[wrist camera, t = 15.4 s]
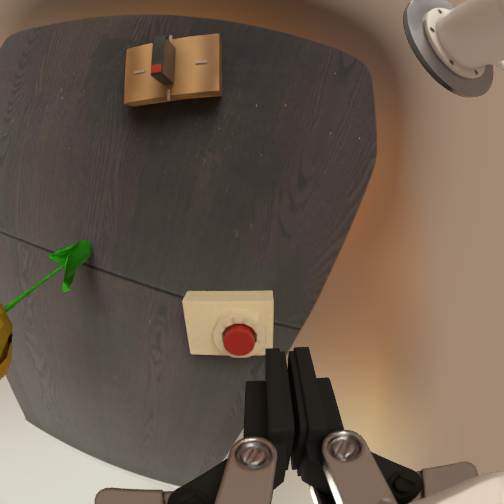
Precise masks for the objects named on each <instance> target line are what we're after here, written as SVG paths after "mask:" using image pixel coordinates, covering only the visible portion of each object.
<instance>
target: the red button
mask: <svg viewBox="0 0 504 504" xmlns="http://www.w3.org/2000/svg"><path fill="white" fill-rule="evenodd" d="M223 345H224V348H225V349H226V350H227V351H228V352H229V353H230V354H233V355H236V356H243V355H246V354H249V353H250V352H251V351H252V350H253V349H254V346H255V335H254V332H253V330H252V329H251V328H250V327H248V326H246V325H243V324H235V325H232V326H230V327H228V328H227V330H226V331H225V334H224V340H223Z"/></svg>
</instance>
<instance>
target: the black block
mask: <svg viewBox="0 0 504 504" xmlns="http://www.w3.org/2000/svg"><path fill="white" fill-rule="evenodd" d="M175 52H176V48H175V47H174V46H173V44H172V43H171V42H170V41H169V39H168V38H167V37H166V35H162V36H157V37H153V46H152V59H151V76H152V77H153V78H154V79H156V80H157V81H159V82H160V83H161V84H163V85H167V84H174V73H175Z"/></svg>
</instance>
